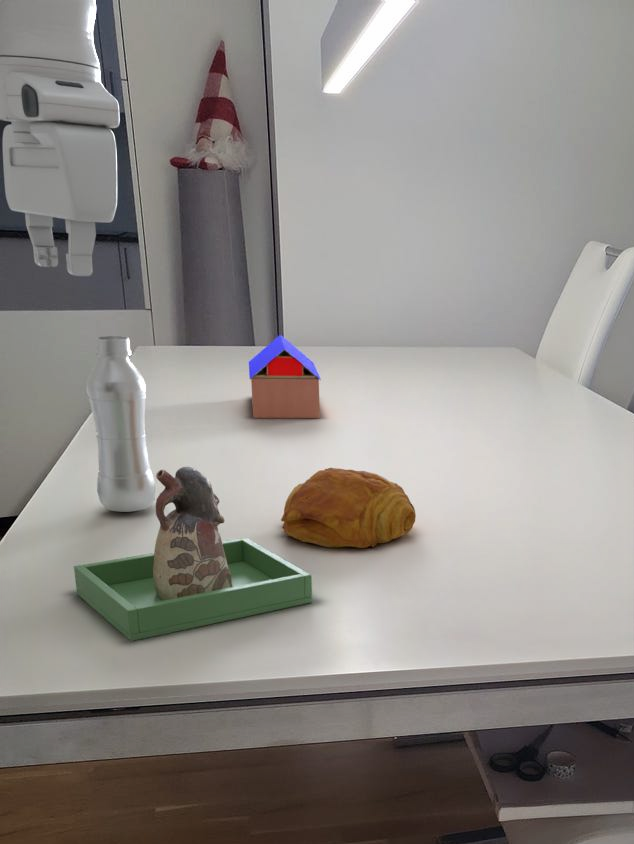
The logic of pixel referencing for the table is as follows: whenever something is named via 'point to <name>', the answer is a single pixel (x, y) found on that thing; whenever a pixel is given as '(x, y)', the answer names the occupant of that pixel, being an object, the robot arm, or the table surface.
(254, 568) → the green tray
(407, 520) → the croissant
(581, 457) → the table surface
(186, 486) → the figurine
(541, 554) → the table surface
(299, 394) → the house
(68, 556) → the table surface
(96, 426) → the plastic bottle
